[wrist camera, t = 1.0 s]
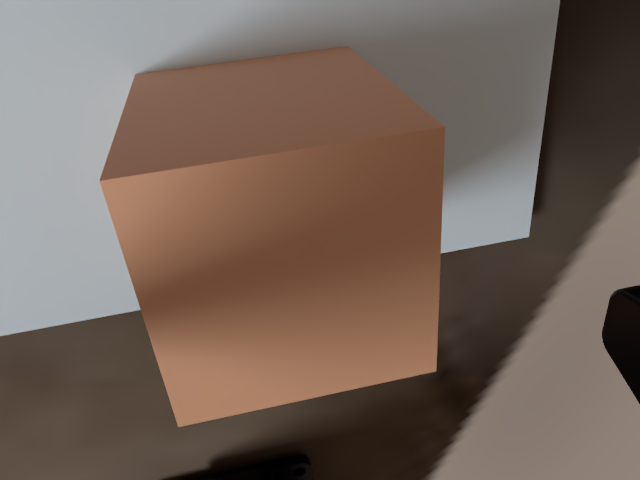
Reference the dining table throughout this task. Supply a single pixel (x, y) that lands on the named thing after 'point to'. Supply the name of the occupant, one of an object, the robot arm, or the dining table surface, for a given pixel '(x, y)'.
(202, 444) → the dining table surface
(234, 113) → the terracotta block
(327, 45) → the blueprint board
